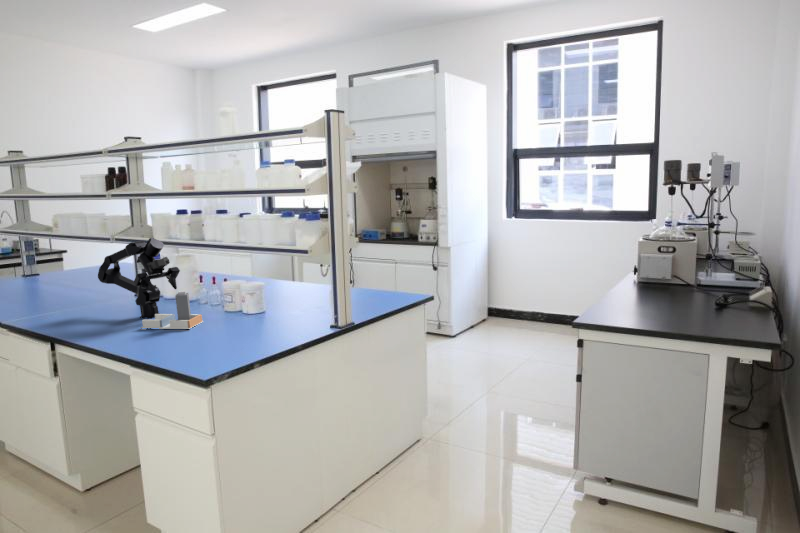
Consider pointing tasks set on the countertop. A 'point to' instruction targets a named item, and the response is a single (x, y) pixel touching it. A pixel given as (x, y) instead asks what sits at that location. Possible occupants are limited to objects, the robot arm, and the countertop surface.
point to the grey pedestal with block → (183, 305)
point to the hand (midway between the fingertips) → (166, 290)
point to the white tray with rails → (172, 322)
